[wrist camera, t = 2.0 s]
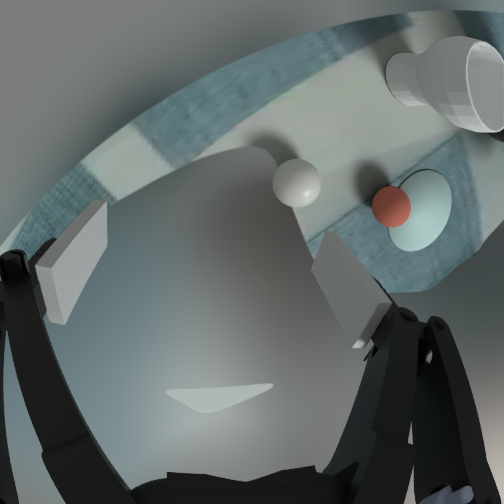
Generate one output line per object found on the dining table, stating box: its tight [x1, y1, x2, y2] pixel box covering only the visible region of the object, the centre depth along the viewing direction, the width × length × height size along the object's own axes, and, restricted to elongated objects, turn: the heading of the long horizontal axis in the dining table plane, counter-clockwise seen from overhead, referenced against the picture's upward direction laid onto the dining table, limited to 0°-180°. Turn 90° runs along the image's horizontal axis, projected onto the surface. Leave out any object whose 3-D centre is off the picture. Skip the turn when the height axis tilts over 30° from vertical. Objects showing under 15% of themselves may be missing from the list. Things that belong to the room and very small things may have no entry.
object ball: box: [372, 186, 411, 227], centre depth 34 cm, size 6×6×6 cm
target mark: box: [388, 170, 451, 251], centre depth 38 cm, size 14×14×1 cm
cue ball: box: [272, 159, 321, 207], centre depth 31 cm, size 6×6×6 cm
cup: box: [386, 36, 504, 132], centre depth 21 cm, size 11×11×15 cm
